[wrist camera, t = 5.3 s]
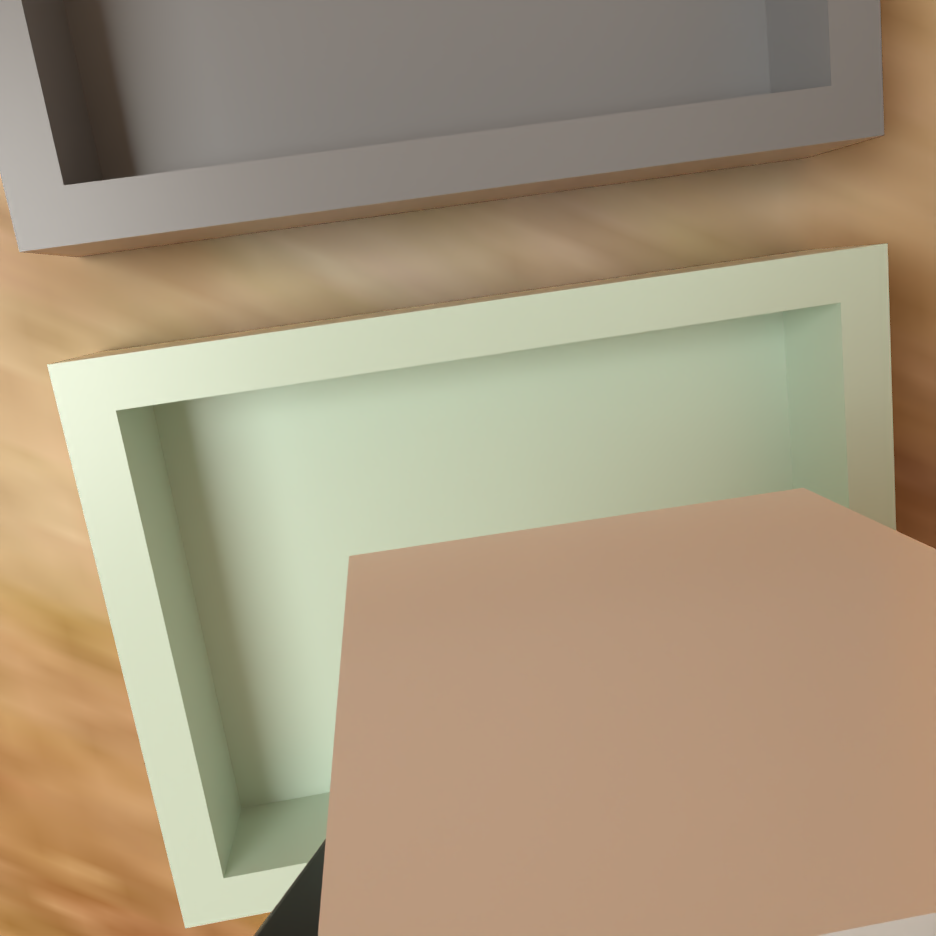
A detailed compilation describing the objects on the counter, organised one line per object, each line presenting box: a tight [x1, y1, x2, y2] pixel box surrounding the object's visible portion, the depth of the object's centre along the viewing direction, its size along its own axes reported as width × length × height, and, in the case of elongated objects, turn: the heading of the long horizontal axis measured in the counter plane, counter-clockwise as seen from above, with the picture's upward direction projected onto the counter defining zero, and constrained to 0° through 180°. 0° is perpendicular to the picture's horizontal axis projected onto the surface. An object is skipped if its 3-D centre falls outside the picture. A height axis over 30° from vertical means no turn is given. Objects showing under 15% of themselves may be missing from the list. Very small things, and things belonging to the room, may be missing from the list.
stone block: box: [318, 488, 936, 936], centre depth 7 cm, size 5×5×6 cm
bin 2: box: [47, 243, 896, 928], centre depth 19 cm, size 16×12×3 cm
